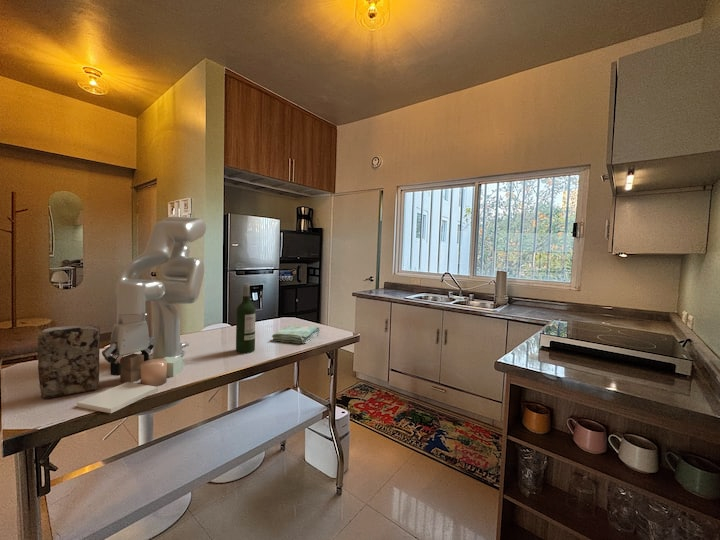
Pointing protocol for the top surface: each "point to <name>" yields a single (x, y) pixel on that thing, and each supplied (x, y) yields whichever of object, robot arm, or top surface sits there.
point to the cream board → (117, 397)
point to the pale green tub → (174, 365)
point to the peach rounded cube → (154, 372)
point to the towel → (295, 334)
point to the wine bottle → (245, 324)
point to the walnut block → (131, 367)
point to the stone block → (68, 359)
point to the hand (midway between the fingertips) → (130, 369)
